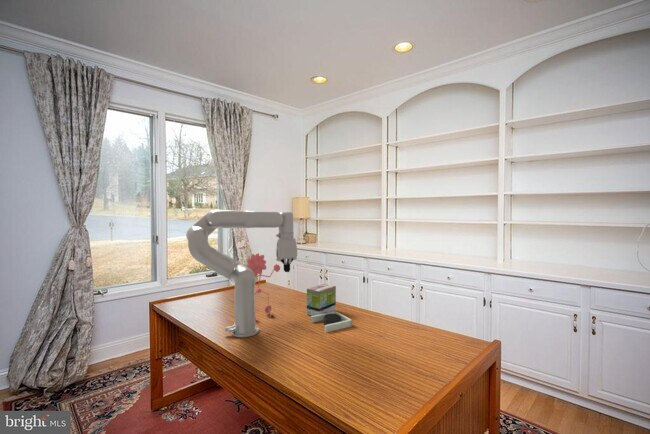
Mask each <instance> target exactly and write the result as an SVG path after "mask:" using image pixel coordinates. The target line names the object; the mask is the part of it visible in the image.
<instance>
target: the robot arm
mask: <svg viewBox="0 0 650 434" xmlns="http://www.w3.org/2000/svg"><path fill="white" fill-rule="evenodd" d="M255 228H261V229H262V228H267V229H268V228H271V229H273V228H278V233H277V234H276V235H275V237H276V238H277V241H276V248H275V249H276V251H275V252H276V253H275V255H276V261H277V262H280V263H282V264H283V272H284V273H290V271H291V264H292V263H293V261H296V260H297V258H298V248H297V247H298V246H297V240H296V238H294V237H295V236H294V232H295V231H294V213H293V212H292V211H282V212H278V211H253V210H245V209H243V210H239V209H235V210H234V209H212V210H210V211H208V212H207V213H206V214H204V216H203V217H201V218H200V219H199V220H197V221H196V222H195V223H194V224H193V225H192V226H191V227H189V228H188V230H187V231H186V240H187V241H188V242H187V246H188V251H189V253H190V255H191V257H192V258H193V259H194V260H195V261H197V262H199V263H200V264H202V265H203V266H205V267H206V268H208V269H210V270H212V271H213V272H215V273H216V274H217V275H220V276H222V277H224V278H226V279H228V280H231V281H232V282H233V283H234V292H233V293H234V296H233V297H234V298H233V299H234V300H233V302H234V304H233V305H234V323H233V325H231V326H225V327H224V332H228V333H231V335H232V336H233V337H236V338H248V337H253V336H255V335H257V334H258V333H259V332H260V328H259V327H258V326H256V321H255V317H256V299H255V297H256V296H255V295H256V294H255V293H256V277H255V274H254V272H253V271H252V270H251V269H250V268H248V267H246V266H247V265H245V264H242V263H241V262H239V261H237V259H235V258H233V257H231V256H229V255H228V254H225V253H222V252H220V251H219V250H218V249H216V248H214V247H212V246H211V245H210V244H209V236H210V235H211V234H212V233H213V232H215V231H216V229H255ZM244 265H245V266H244Z"/></svg>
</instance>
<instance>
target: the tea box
mask: <svg viewBox="0 0 650 434" xmlns="http://www.w3.org/2000/svg"><path fill="white" fill-rule="evenodd" d="M336 287H337V286H335V285H332V284H326V283H321V284H319V285H315V286H311V287H308V288H306V315H308V316H310V317H311V316H315V315H320V314H325V313H330V312H335V311H336V310H337V307H336V306H337V304H336V302H337V299H336V298H337V295H336V294H337V293H336V292H337V288H336Z"/></svg>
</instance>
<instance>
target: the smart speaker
mask: <svg viewBox="0 0 650 434" xmlns="http://www.w3.org/2000/svg"><path fill="white" fill-rule="evenodd" d="M322 322H323V325H324V326H325V325H328V324H333V323H337V322H342V321H341V317H340V316H339V315H337V314H328V315H325V316H324V318H323V320H322Z"/></svg>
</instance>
